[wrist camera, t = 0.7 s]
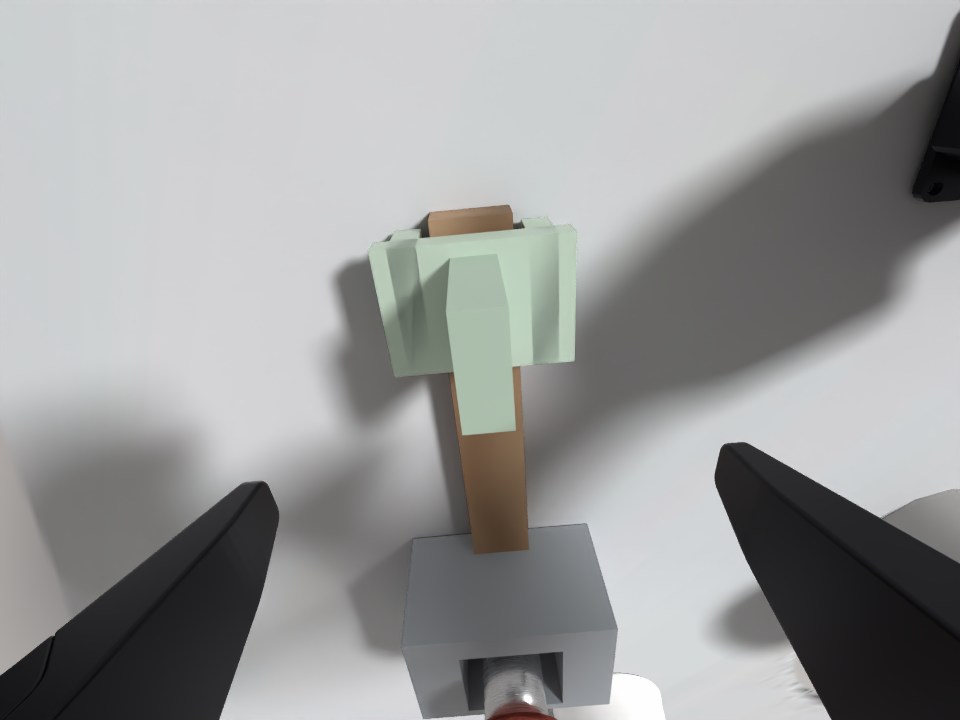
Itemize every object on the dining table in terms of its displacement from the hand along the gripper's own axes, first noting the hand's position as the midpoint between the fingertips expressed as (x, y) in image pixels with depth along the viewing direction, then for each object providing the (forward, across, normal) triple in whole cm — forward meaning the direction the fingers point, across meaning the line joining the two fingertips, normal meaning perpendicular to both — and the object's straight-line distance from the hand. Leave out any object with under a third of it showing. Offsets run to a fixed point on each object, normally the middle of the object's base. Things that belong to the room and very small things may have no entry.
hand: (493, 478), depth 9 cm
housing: (+11, 0, +19) cm, 22 cm away
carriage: (+11, 0, 0) cm, 11 cm away
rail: (+11, 0, +6) cm, 13 cm away
